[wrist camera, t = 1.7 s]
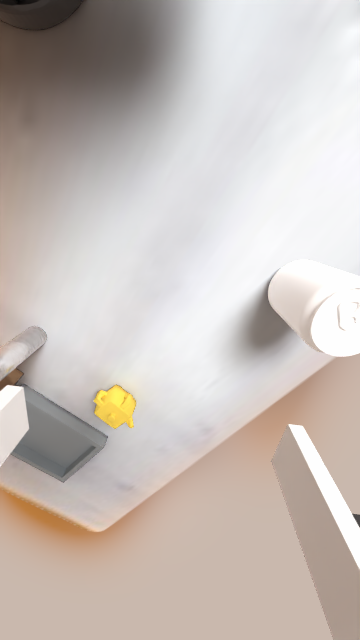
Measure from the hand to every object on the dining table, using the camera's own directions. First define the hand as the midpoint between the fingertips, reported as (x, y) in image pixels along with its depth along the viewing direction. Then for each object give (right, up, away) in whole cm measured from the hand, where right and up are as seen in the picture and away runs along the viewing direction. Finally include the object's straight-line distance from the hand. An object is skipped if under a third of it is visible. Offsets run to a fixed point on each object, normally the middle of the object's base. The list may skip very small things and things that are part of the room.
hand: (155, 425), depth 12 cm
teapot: (-9, -8, +29) cm, 32 cm away
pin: (-21, +3, +25) cm, 33 cm away
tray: (-24, -16, +33) cm, 44 cm away
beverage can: (+17, +10, +21) cm, 29 cm away
